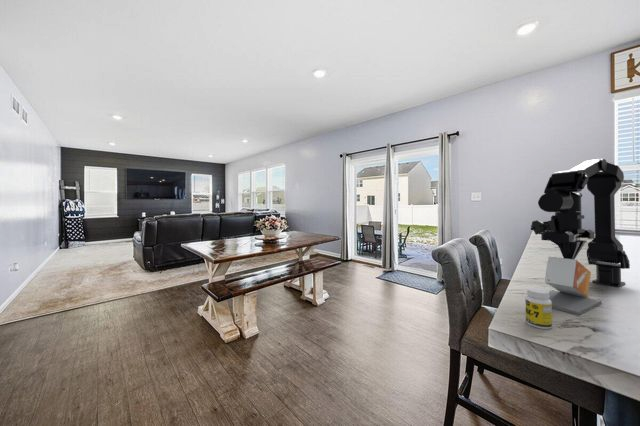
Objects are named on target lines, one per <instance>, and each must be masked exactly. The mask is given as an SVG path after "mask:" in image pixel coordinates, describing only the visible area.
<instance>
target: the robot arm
mask: <svg viewBox="0 0 640 426" xmlns="http://www.w3.org/2000/svg"><path fill="white" fill-rule="evenodd" d="M624 179H625V176H624V172H623V169H621V167H620V166H619V165H616V164H615V163H614V164H613V163H611V162H608V161H607V160H606V158H596V159H590V160H584V161H582V162H581V163H580V164H578V165H576V166H574V167H572V168H571V169H569V170H562V171H560V170H559V171H555V172H553V173H552V174H551V176H550V177H549V179H548V181H547V184H546V186H545V188H544V192H543V193H544V194H541V196H540V197H539V199H538V200H537V203H538V208H540V210H542V212H543V211H544V212H547V213H554V215H553V214H552V216H550V220H547V221H541V220H540V219H537V220H533V221H532V222H531V225H530V230H531V231H533V232H534V235H536V236H537V235H541V236H540V237H541V241H548V242H551V243H554V244H555V245H556V246H558V248H559V251H560V253H561V255H562V257H563V258H565V259H574V260H576V258H577V256H578V255H579V253H580V251H581V250H582V248H583V247H584V246H585V244H586V243H587V241H588V240H591V241H589V242H588V243H587V249H586V257H587V263H588V265H591V266H592V265H593V266H595V272H596V277H595V279H593V280H591V283H595V284H600V285H601V284H602V285H608V286H612V287H619V288H620V287H622V286H624V285H626V282H624V281H622V270H626V269H628V270H629V269H630V268H631V267H630V266H631V264H630V260H629V256H628V255H627V253H626V251H625V250H624V245H623V244H622V243H621V242H620V241H619V240H618V238H617V237H616V217H615V215H616V214H615V213H616V211H615V195H616V193H618V191H619V190H620V189H621V188H622V183H623V181H624ZM585 187H586V189H587V190H588V192H590V194H591V195H593V197H594V198H593V204H594V207H593V208H594V209H593V210H594V212H593V213H594V231H593V230H592V229H585V228H583V227H582V220H583V219H585V214H582V197H583V194H582V190H584V189H585ZM581 239H582V240H581ZM583 239H584V240H583ZM585 239H588V240H585Z"/></svg>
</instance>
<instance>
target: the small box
mask: <svg viewBox="0 0 640 426" xmlns="http://www.w3.org/2000/svg"><path fill="white" fill-rule="evenodd" d="M591 274H592V273H591V271H590V270H589V269H588V268H587V267H586V266H584V265H583V264H582V263H581V262H580V261H578V260H577V259H575V260H574V259H565V258H562V257H556V256H555V257H554V256H548V259H547V264H546V271H545V280H544V283H545V284H547V285H549V286H550V287H551V288H554V290H555V291H559V292H563V293H568V294H573V295H577V296H582V297H587V298H589V293H590V291H589V289H590V283H591V282H590V281H591Z"/></svg>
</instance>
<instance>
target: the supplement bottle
mask: <svg viewBox="0 0 640 426" xmlns="http://www.w3.org/2000/svg"><path fill="white" fill-rule="evenodd" d="M549 291H550V290H546V289H544V288H540V287H539V288H538V287H528V288H527V289H526V296H525V322H526V324H528V325H529V326H531V327H534V328H537V329H542V330H549V329H551V328H552V327H553V315H552V314H553V313H552V312H553V308H552V302H551V300H550V299H549V297H550V296H549Z"/></svg>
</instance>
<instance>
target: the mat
mask: <svg viewBox="0 0 640 426" xmlns="http://www.w3.org/2000/svg"><path fill="white" fill-rule="evenodd" d="M548 291H549V296H550V297H549V299H550V300H551V302H552V309H554V310H558V311H562V312H566V313H569V314H574V315H577V316H581V315H582V314H584V313H586V312H589V311H590V310H592V309H594V308H596V307H598V306H599V305H602V302H603V301H602V300H599V299H595V298H591V297H588V298H587V297H582V296H577V295H573V294H568V293H563V292H560V291H558V290H555V289H553V290H548Z"/></svg>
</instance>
